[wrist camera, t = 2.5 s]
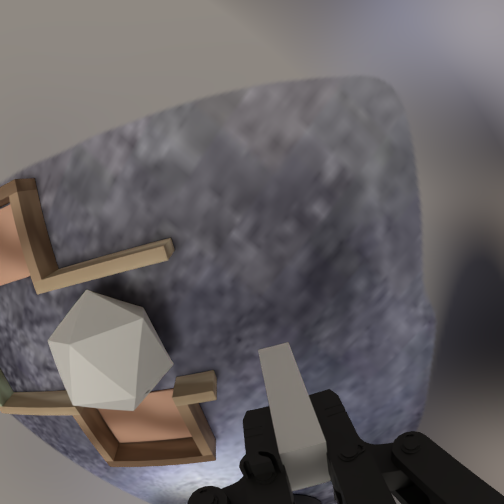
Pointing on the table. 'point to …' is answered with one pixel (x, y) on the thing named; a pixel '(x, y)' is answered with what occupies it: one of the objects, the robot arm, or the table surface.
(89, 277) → the channel
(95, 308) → the die
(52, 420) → the table surface
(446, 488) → the robot arm
